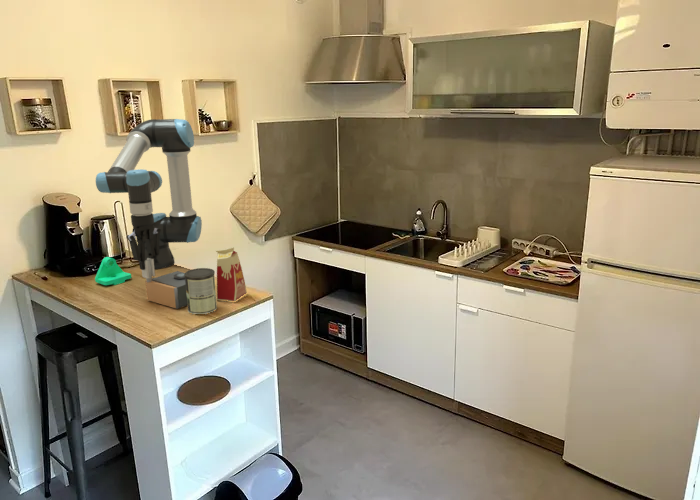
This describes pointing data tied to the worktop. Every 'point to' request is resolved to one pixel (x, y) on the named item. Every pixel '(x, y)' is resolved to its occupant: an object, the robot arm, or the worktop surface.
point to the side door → (161, 291)
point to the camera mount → (111, 273)
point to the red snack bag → (229, 276)
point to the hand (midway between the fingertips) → (148, 276)
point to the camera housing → (175, 285)
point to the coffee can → (200, 290)
